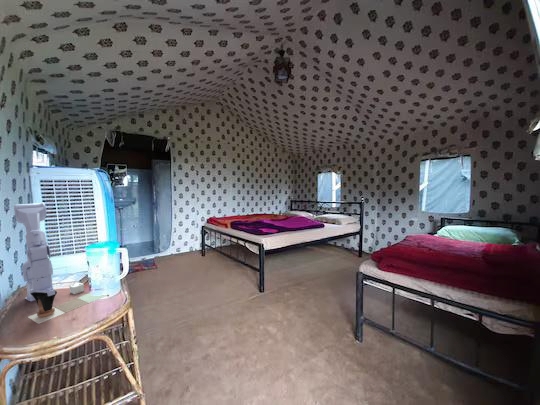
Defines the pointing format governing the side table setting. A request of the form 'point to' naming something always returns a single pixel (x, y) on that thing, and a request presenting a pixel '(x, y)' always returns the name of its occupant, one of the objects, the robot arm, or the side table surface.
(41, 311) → the pawn
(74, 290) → the die
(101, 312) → the side table surface
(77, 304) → the board
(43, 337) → the side table surface
